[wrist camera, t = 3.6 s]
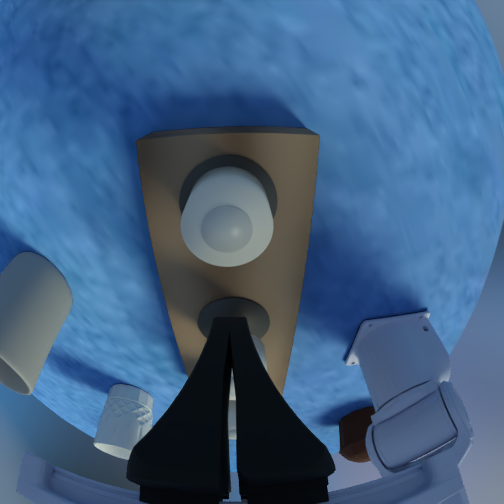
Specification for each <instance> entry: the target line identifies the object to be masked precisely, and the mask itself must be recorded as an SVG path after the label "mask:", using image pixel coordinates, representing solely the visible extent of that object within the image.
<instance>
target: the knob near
mask: <svg viewBox="0 0 504 504" xmlns="http://www.w3.org/2000/svg"><path fill="white" fill-rule="evenodd" d="M273 228H274V227H273V217H272V214H271V210H270V206H269V203H268V199H267V196H266V192H265V189H264V187H263V185H262V184H261V182H260V181H259V180H258V179H257V178H256V177H255V176H254V175H253V174H251V173H250V172H248V171H246V170H244V169H241V168H238V167H230V166H226V167H219V168H215V169H213V170H210V171H208V172H207V173H205V174H204V175H202V176H201V177H200V178H199V179H198V180H197V182H196V183H195V185H194V186H193V189H192V191H191V193H190V196H189V198H188V201H187V203H186V206H185V208H184V211H183V213H182V217H181V234H182V237H183V240H184V242H185V244H186V246H187V247H188V248H189V250H190V251H191V252H192V253H193V254H194V255H195V256H196V257H198V258H199V259H201V260H203V261H205V262H207V263H209V264H212V265H216V266H222V267H233V266H239V265H243V264H246V263H248V262H250V261H252V260H254V259H255V258H257V257H258V256H259V255H260V254H261V253H263V251H264V250H265V249H266V248H267V246H268V245H269V243H270V240H271V238H272V234H273Z"/></svg>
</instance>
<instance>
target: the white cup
mask: <svg viewBox="0 0 504 504" xmlns="http://www.w3.org/2000/svg"><path fill="white" fill-rule="evenodd" d="M152 408H153V398H152V397H151V396H150V395H149V394H148V393H147V392H145V391H144V390H142V389H139V388H137V387H134V386H131V385H125V384H116V385H113V386H112V387H111V388H110V391H109V394H108V397H107V401H106V403H105V405H104V409H103V412H102V414H101V418H100V421H99V425H98V429H97V432H96V436H95V440H94V446H95V447H97V448H98V449H100V450H102V451H104V452H106V453H108V454H111V455H114V456H116V457H120V458H123V459H127V460H129V457H130V454H131V451H132V449H133V447H134V446H135V445H136V444H137V443H138V442H139V441H140V440H141V439H142V438H143V437H144V436H145V435H146V434H147V433H148V432H149V431H150V430H151V429H152V418H153V416H152Z"/></svg>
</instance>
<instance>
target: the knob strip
mask: <svg viewBox="0 0 504 504" xmlns="http://www.w3.org/2000/svg"><path fill="white" fill-rule="evenodd" d="M319 139H320V135H318V134H316V133H314V132H313V131H311V130H309V129H307V128H296V127H268V126H236V127H208V128H192V129H179V130H168V131H159V132H151V133H149V134H147V135H146V136H144V137H142V138H140V139H138V140H137V141H136V145H137V154H138V163H139V170H140V178H141V185H142V191H143V198H144V204H145V210H146V216H147V221H148V227H149V232H150V237H151V242H152V247H153V252H154V256H155V261H156V265H157V270H158V274H159V278H160V283H161V287H162V291H163V295H164V298H165V302H166V306H167V310H168V314H169V317H170V321H171V324H172V328H173V331H174V335H175V338H176V341H177V345H178V348H179V351H180V354H181V357H182V360H183V363H184V367H185V370H186V372H187V375H188V378H189V376H190V374H191V373H192V371H193V369H194V367H195V365H196V363H197V361H198V359H199V357H200V355H201V352H202V350H203V346H204V344H205V342H206V341H207V338H208V335H209V332H210V329H211V326H212V322H213V319H214V318H215V317H246V318H247V321H248V326H249V330H250V334H252V335H254V336H256V337H258V338H259V339H260V340H261V341H262V342H263V344H264V346H265V354H266V363H267V372H268V374H269V376H270V378H271V380H272V381H273V383H274V385H275V386H276V388H277V389H278V391H279V392H280V394H281V395H282V394H283V390H284V385H285V380H286V376H287V371H288V366H289V361H290V356H291V351H292V345H293V340H294V335H295V329H296V323H297V318H298V312H299V306H300V300H301V294H302V287H303V281H304V274H305V267H306V260H307V253H308V246H309V238H310V230H311V222H312V213H313V204H314V195H315V185H316V175H317V164H318V152H319ZM226 166H230V167H238V168H241V169H244V170H246V171H248V172H250V173H251V174H253V175H254V176H255V177H256V178H257V179H258V180H259V181H260V182H261V184H262V185H263V187H264V189H265V192H266V196H267V199H268V203H269V206H270V210H271V214H272V217H273V227H274V228H273V234H272V238H271V240H270V243H269V245H268V246H267V248H266V249H265V250H264V251H263V253H261V254H260V255H259V256H258V257H257V258H255V259H254V260H252V261H250V262H248V263H246V264H243V265H239V266H233V267H222V266H216V265H212V264H209V263H207V262H205V261H203V260H201V259H199V258H198V257H196V256H195V255H194V254H193V253H192V252H191V251H190V250H189V248H188V247H187V246H186V244H185V242H184V240H183V237H182V234H181V217H182V213H183V211H184V208H185V206H186V203H187V201H188V198H189V196H190V193H191V191H192V189H193V186H194V185H195V183H196V182H197V180H198V179H199V178H200V177H201V176H202V175H204V174H205V173H207V172H208V171H210V170H213V169H215V168H219V167H226Z"/></svg>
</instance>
